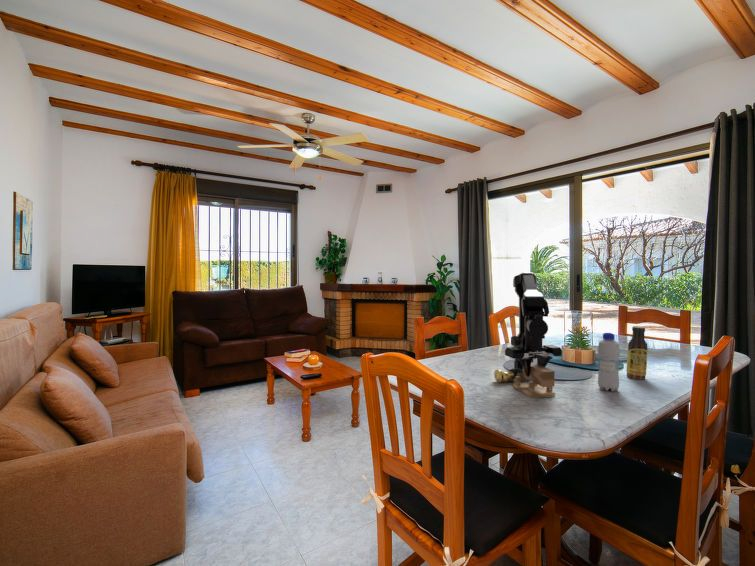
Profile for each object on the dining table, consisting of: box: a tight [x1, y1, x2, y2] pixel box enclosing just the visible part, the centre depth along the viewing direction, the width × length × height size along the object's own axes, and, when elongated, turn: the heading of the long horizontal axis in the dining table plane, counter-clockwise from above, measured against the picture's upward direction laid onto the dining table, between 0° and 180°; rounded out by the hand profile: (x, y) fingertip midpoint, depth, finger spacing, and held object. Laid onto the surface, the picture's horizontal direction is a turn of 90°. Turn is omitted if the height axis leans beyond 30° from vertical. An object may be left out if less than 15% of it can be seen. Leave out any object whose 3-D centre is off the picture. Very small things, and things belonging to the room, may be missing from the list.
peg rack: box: [512, 376, 556, 399], centre depth 128 cm, size 12×8×4 cm, turn 11°
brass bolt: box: [493, 369, 515, 383], centre depth 139 cm, size 6×5×5 cm
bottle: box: [597, 332, 621, 392], centre depth 129 cm, size 7×7×20 cm
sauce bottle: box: [626, 326, 648, 381], centre depth 141 cm, size 6×6×20 cm
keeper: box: [507, 367, 531, 383], centre depth 140 cm, size 5×8×4 cm, turn 11°
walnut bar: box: [523, 361, 555, 388], centre depth 125 cm, size 12×4×5 cm, turn 10°
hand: (533, 376), depth 128 cm, fingers closed on walnut bar, 4 cm apart
